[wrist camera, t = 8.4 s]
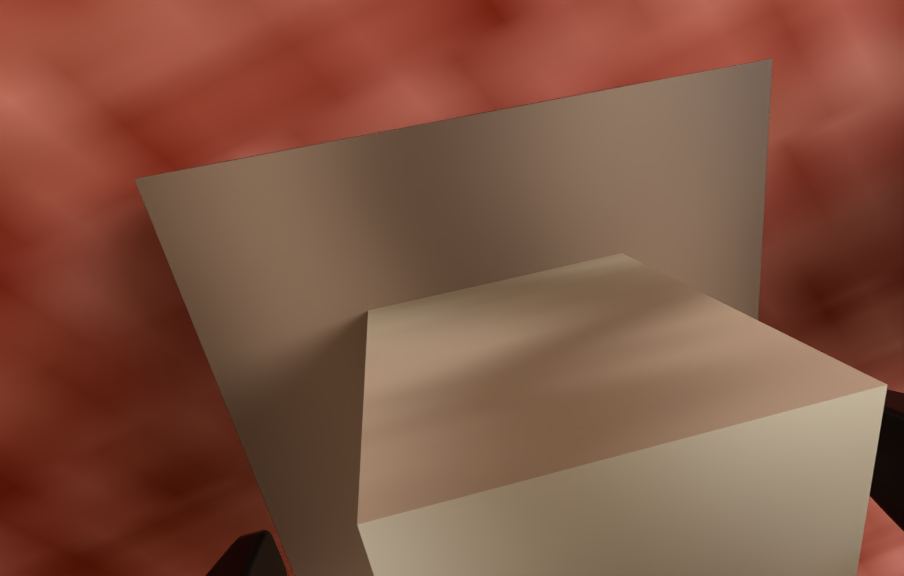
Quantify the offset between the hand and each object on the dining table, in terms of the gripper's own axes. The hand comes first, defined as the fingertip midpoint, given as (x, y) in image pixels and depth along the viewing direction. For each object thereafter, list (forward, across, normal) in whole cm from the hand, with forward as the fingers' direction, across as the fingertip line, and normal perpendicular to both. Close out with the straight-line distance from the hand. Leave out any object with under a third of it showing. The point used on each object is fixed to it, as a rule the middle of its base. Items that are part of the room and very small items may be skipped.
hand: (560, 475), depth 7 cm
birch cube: (+2, 0, 0) cm, 2 cm away
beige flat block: (+6, 0, 0) cm, 6 cm away
